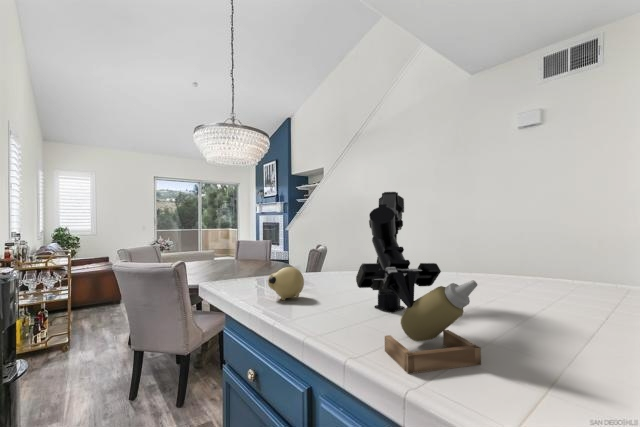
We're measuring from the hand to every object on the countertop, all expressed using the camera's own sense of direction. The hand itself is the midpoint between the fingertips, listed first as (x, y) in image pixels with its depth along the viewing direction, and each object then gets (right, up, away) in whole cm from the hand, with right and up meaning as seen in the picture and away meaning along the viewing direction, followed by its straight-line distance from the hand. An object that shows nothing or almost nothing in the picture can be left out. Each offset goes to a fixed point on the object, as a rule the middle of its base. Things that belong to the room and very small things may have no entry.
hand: (411, 307), depth 63 cm
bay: (+2, -8, -6) cm, 10 cm away
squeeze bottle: (+1, -5, +3) cm, 6 cm away
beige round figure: (-30, -9, +39) cm, 50 cm away
